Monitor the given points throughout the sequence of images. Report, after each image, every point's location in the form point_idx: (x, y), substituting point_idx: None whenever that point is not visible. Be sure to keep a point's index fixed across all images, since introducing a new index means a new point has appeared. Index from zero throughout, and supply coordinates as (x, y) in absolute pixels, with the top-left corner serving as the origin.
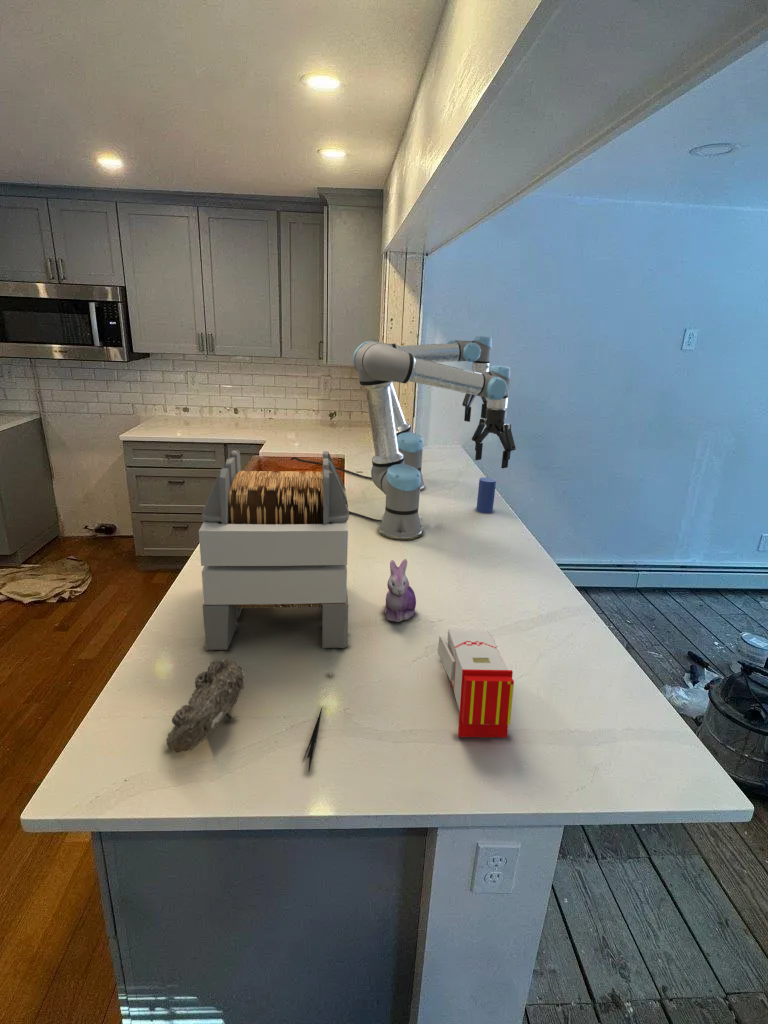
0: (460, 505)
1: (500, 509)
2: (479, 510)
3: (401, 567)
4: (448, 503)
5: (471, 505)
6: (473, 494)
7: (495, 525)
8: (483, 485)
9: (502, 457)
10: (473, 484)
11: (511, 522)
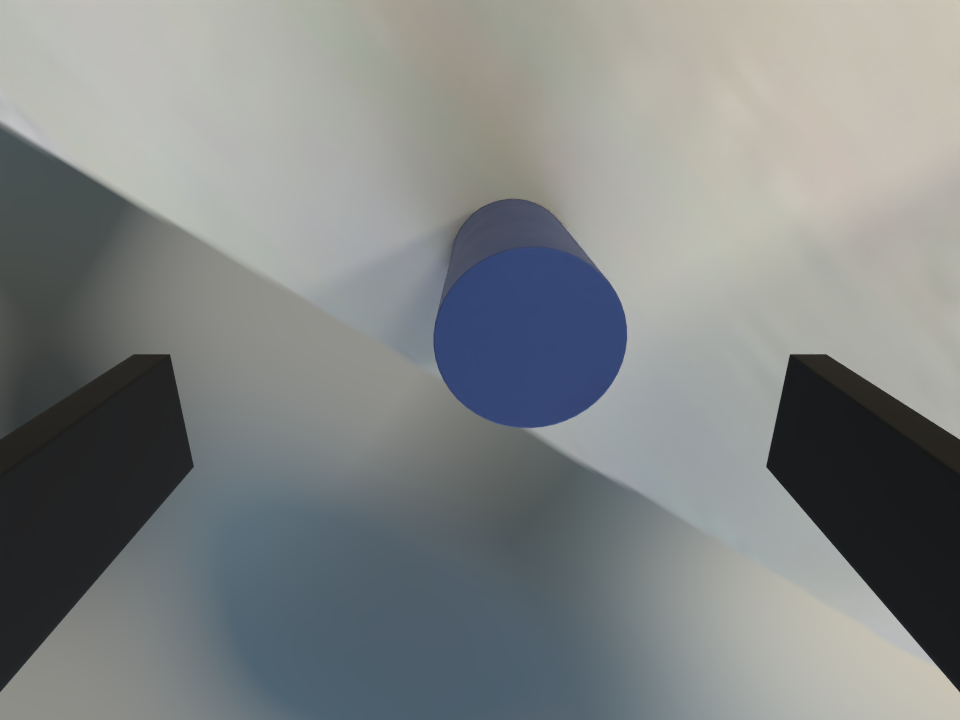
0: (698, 184)
1: None
2: (507, 200)
3: None
4: (793, 130)
5: (645, 261)
6: None
7: (233, 85)
8: (503, 241)
9: (23, 457)
10: None
11: (237, 245)
